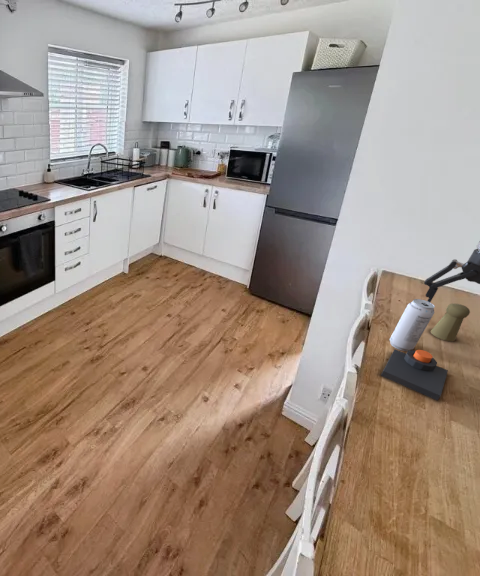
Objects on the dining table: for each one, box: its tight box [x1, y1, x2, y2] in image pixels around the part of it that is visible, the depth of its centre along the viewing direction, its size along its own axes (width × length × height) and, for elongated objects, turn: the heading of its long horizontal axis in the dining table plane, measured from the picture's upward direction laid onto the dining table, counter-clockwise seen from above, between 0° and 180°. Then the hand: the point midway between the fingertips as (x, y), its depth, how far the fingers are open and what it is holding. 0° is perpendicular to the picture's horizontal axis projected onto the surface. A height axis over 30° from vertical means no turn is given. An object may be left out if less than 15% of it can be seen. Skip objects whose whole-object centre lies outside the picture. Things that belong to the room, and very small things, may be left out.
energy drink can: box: [389, 298, 436, 352], centre depth 107 cm, size 6×6×15 cm
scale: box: [380, 348, 449, 402], centre depth 98 cm, size 15×12×4 cm
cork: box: [430, 302, 471, 342], centre depth 113 cm, size 6×6×11 cm
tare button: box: [413, 349, 434, 363], centre depth 100 cm, size 4×4×2 cm
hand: (453, 315), depth 113 cm, fingers open, 13 cm apart
